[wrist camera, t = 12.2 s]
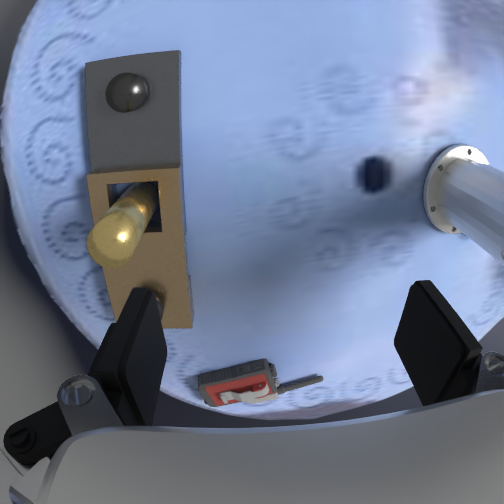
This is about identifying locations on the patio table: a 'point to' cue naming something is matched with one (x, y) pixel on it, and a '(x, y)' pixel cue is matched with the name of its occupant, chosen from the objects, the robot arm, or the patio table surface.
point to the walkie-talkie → (245, 384)
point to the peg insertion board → (142, 172)
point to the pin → (122, 226)
